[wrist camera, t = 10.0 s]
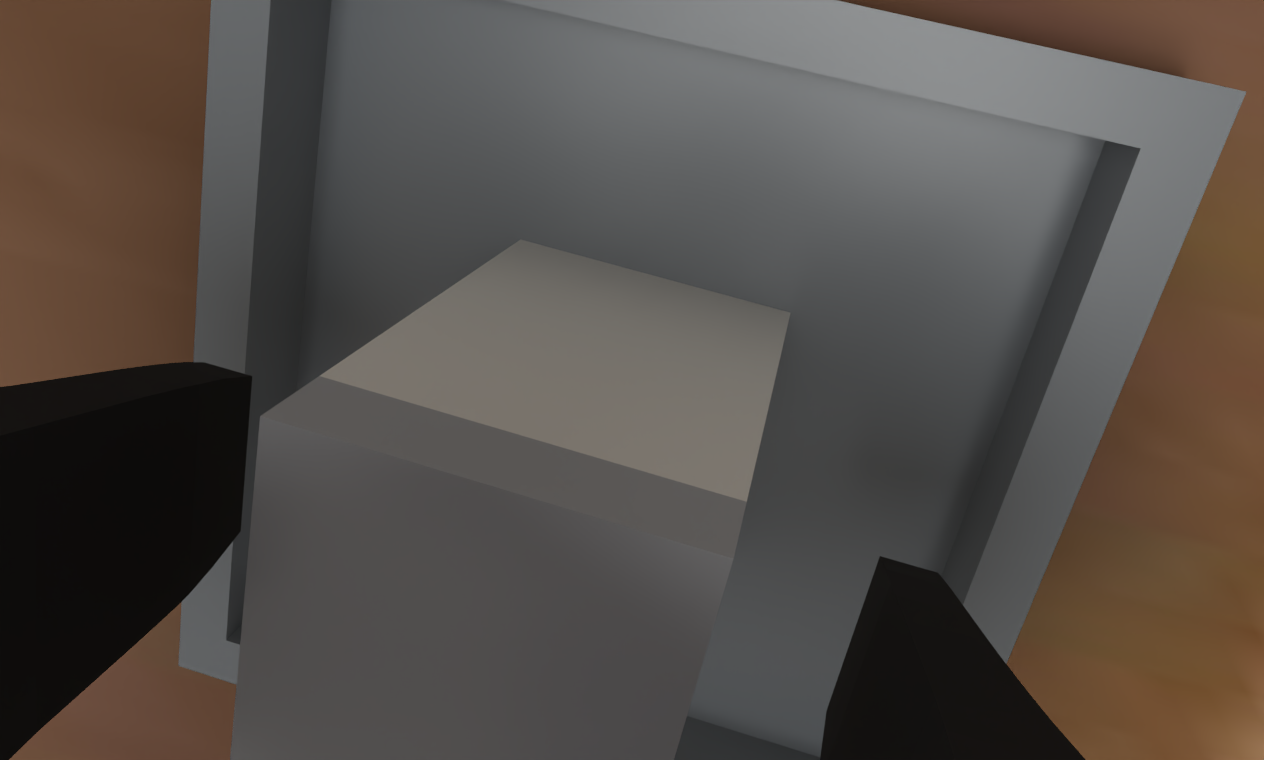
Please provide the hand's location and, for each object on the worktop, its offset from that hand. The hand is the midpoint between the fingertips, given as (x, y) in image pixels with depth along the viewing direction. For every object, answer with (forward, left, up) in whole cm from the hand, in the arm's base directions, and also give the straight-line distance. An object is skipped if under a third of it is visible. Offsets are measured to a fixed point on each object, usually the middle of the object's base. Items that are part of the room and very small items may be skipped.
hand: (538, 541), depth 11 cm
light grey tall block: (0, 0, -4) cm, 4 cm away
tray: (0, 0, -5) cm, 5 cm away
